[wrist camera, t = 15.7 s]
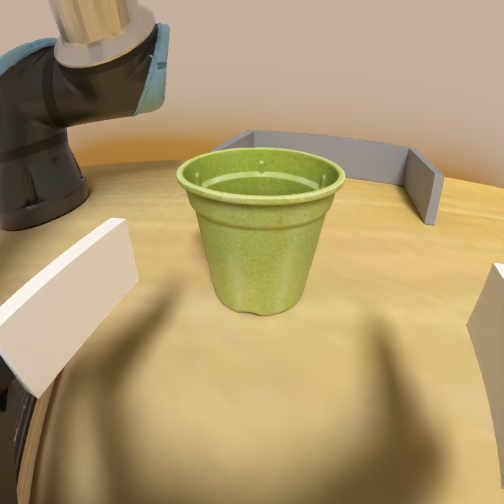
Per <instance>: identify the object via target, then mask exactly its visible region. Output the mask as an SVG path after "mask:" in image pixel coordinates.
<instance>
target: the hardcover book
mask: <svg viewBox="0 0 504 504" xmlns="http://www.w3.org/2000/svg"><path fill="white" fill-rule="evenodd" d="M55 379H56V377H55ZM55 379H54V380H53V381H52V382H51V384H50V385H49V386H48V388H47V389H46V390H45V391H44V393H43V394H42V395H41V397H40V398H39V399H38V398H36V397H35V396H33V395H32V394H30V393H29V392H28V391H26V390H25V389H24V388H23V387H22V385H21V384H20V383H19V381H18V380H17V379H16V377H15V379H14V380H13V381H12V382H13V383H14V385H15V387H16V397H15V414H14V462H15V478H16V489H17V499H18V504H29V499H30V491H31V484H32V477H33V471H34V465H35V460H36V455H37V450H38V445H39V440H40V435H41V431H42V427H43V423H44V419H45V415H46V411H47V407H48V403H49V399H50V396H51V392H52V389H53V385H54V382H55Z"/></svg>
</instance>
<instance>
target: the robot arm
mask: <svg viewBox="0 0 504 504" xmlns="http://www.w3.org/2000/svg"><path fill="white" fill-rule="evenodd" d="M48 2H49V5H50V8H51V11H52V13H53V16H54V18H55V21H56V24H57V26H58V29H59V31H60V36H59V38H58V39H56V38H44V39H39V40H36V41H34V42H31V43H26V44H23V45H20V46H18V47H16V48H14V49H12V50H10V51H8V52H7V53H5V54H4V55H2V56H1V57H0V228H1V229H4V230H17V229H23V228H28V227H31V226H35V225H38V224H41V223H44V222H47V221H49V220H52V219H54V218H56V217H59V216H61V215H63V214H65V213H67V212H69V211H70V210H72V209H74V208H75V207H77V206H78V205H80V204H81V203H82V202H83V201H84V200H85V199H86V198H87V196H88V188H87V183H86V179H85V177H84V175H83V174H82V173H81V171H80V168H79V166H78V164H77V162H76V160H75V157H74V156H73V153H72V151H71V149H70V147H69V144H68V137H67V128H66V127H71V126H74V125H80V124H85V123H91V122H96V121H102V120H108V119H114V118H121V117H128V116H132V117H133V116H136V115H137V114H142V113H147V112H152V111H155V110H157V109H159V108H160V107H161V106H162V105H163V103H164V99H165V86H166V68H167V56H168V44H169V31H170V28H169V26H168V25H167V24H161V23H158V24H155V18H154V15H153V12H152V11H151V10H150V9H148V8H147V7H145V6H143V5H140V4H138V0H48ZM138 281H139V276H138V272H137V268H136V263H135V259H134V255H133V250H132V246H131V241H130V236H129V231H128V226H127V221H126V219H121V218H110V219H108V220H107V221H106V222H104V223H103V224H101V225H100V226H99V227H97V228H96V229H95V230H93V231H92V232H90V233H89V234H88V235H86V236H85V237H84V238H82V239H81V240H80V241H78V242H77V243H76V244H74V245H73V246H72V247H70V248H69V249H68V250H67V251H65V252H64V253H63V254H61V255H60V256H59V257H58V258H56V259H55V260H54V261H53V262H51V263H50V264H49V265H48V266H47V267H45V268H44V269H43V270H42V271H40V272H39V273H38V274H37V275H36V276H34V277H33V278H32V279H31V280H30V281H29V282H27V283H26V284H25V285H24V286H23V287H22V288H20V289H19V290H18V291H17V292H16V293H15V294H14V295H13V296H11V297H10V298H9V299H8V300H7V301H6V302H5V303H4V304H3V305H2V306H0V504H18V499H17V489H16V478H15V462H14V414H15V397H16V387H15V385H14V383H13V382H12V381H13V380H14V379H15V377H16V379H17V380H18V381H19V383H20V384H21V385H22V387H23V388H24V389H25V390H26V391H28V392H29V393H30V394H32V395H33V396H35V397H36V398H38V399H39V398H40V397H41V395H42V394H43V393H44V391H45V390H46V389H47V388H48V386H49V385H50V384H51V382H52V381H53V380H54V379H55V377H56V376H57V375H58V374H59V372H60V371H61V370H62V369H63V367H64V366H65V365H66V364H67V363H68V361H69V360H70V359H71V358H72V356H73V355H74V354H75V353H76V352H77V350H78V349H79V348H80V347H81V346H82V344H83V343H84V342H85V341H86V340H87V339H88V337H89V336H90V335H91V334H92V333H93V331H94V330H95V329H96V328H97V327H98V326H99V324H100V323H101V322H102V321H103V320H104V319H105V318H106V316H107V315H108V314H109V313H110V312H111V311H112V310H113V308H114V307H115V306H116V305H117V304H118V303H119V302H120V301H121V300H122V298H123V297H124V296H125V295H126V294H127V293H128V292H129V291H130V290H131V288H132V287H133V286H134V285H135V284H136V283H137V282H138ZM466 326H467V329H468V332H469V335H470V337H471V340H472V344H473V347H474V350H475V353H476V356H477V360H478V363H479V366H480V370H481V373H482V377H483V381H484V385H485V389H486V393H487V397H488V401H489V406H490V410H491V415H492V420H493V425H494V431H495V436H496V443H497V449H498V457H499V465H500V475H501V487H502V488H504V264H499V263H493V264H492V267H491V270H490V272H489V275H488V277H487V280H486V282H485V285H484V287H483V290H482V292H481V294H480V297H479V299H478V301H477V303H476V306H475V308H474V310H473V312H472V314H471V316H470V318H469V320H468V322H467V324H466Z"/></svg>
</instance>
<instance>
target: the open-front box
mask: <svg viewBox="0 0 504 504" xmlns="http://www.w3.org/2000/svg"><path fill="white" fill-rule="evenodd" d="M257 147H266V148H282V149H290V150H296V151H300V152H306V153H310V154H313V155H317V156H320V157H323V158H326V159H328V160H330V161H332V162H334V163H336V164H337V165H338V166H340V167H341V168H342V169H343V171H344V172H345V177H347V178H355V179H362V180H369V181H376V182H383V183H389V184H395V185H401V186H404V187H405V189H406V191H407V193H408V194H409V196H410V198H411V200H412V201H413V203H414V205H415V207H416V209H417V211H418V212H419V214H420V216H421V218H422V220H423V222H424V224H429V225H434V222H435V218H436V214H437V210H438V205H439V201H440V196H441V191H442V186H443V181H444V174H443V173H441V172H440V171H439V170H438V169H437V168H436V167H435V166H434V165H432V163H431V162H430V161H428V160H427V159H426V158H425V157H424V156H423V155H422V154H421V153H420V152H418V151H417V150H416V149H415V148H411V147H406V146H400V145H394V144H388V143H382V142H376V141H368V140H362V139H354V138H346V137H337V136H328V135H318V134H307V133H294V132H279V131H259V130H248V131H246V132H244V133H242V134H240V135H238V136H236V137H234V138H232V139H230V140H228V141H227V142H225V143H223V144H221V145H219V146H217V147H215V148H213V149H212V152H215V151H220V150H226V149H234V148H257Z"/></svg>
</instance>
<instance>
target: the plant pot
mask: <svg viewBox="0 0 504 504" xmlns="http://www.w3.org/2000/svg"><path fill="white" fill-rule="evenodd" d="M176 176H177V180H178V183H179V184H180V185H181V186H182V187H183V188H184V189H185V190H186V191H187V194H188V198H189V201H190V204H191V206H192V207H193V208H194V210H195V211H196V215H197V219H198V223H199V227H200V232H201V236H202V240H203V244H204V248H205V252H206V256H207V260H208V264H209V268H210V272H211V276H212V280H213V283H214V287H215V291H216V294H217V296H218V298H219V299H220V301H221V302H222V303H223V304H225V305H226V306H227V307H229V308H230V309H232V310H234V311H237V312H242V311H246V312H252V313H256V314H259V315H261V316H265V315H273V314H277V313H280V312H283V311H285V310H287V309H289V308H291V307H292V306H293V305H295V304H296V303H297V302H298V301H299V299H300V298H301V296H302V293H303V291H304V287H305V284H306V280H307V277H308V273H309V270H310V267H311V263H312V260H313V256H314V253H315V250H316V246H317V243H318V239H319V236H320V232H321V229H322V225H323V222H324V218H325V214H326V212H327V211H328V210H329V209H330V207H331V205H332V202H333V199H334V196H335V192H337V191H338V190H340V189H341V187H342V186H343V185H344V182H345V172H344V171H343V169H342V168H341V167H340V166H338V165H337V164H336V163H334V162H332V161H330V160H328V159H326V158H323V157H320V156H317V155H313V154H310V153H306V152H300V151H296V150H290V149H282V148H266V147H257V148H234V149H226V150H220V151H215V152H210V153H208V154H203V155H200V156H197V157H194V158H192V159H190V160H188V161H186V162H185V163H183V164H182V165H181V166H180V167H179V168H178V170H177V173H176Z"/></svg>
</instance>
